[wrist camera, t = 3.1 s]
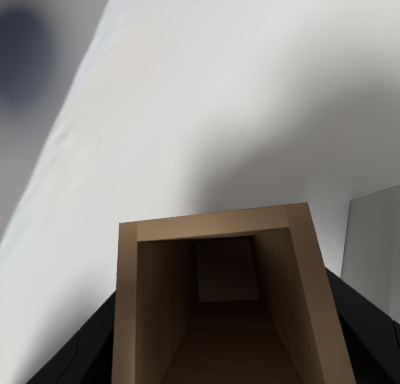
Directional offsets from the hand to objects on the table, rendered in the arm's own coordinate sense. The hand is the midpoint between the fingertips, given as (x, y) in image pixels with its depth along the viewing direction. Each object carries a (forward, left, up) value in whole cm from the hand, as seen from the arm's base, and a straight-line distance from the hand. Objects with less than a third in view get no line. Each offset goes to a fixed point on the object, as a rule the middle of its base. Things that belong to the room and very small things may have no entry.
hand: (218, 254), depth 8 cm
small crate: (-1, +1, -7) cm, 7 cm away
